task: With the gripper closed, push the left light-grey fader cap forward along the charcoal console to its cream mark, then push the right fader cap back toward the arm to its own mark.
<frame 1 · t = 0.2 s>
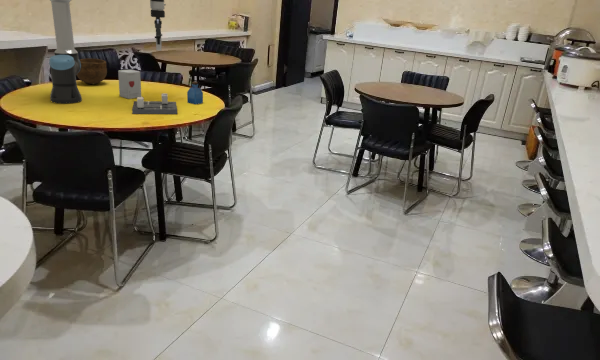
hand: (159, 49, 262), 28 cm above the table, fingers open, 13 cm apart
bowl: (92, 84, 293), on the table
console: (155, 109, 243), on the table
fader right: (164, 98, 247), point 5 cm above the table, slide at 0.0 cm
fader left: (140, 102, 235), point 5 cm above the table, slide at 0.0 cm
perfume bottle: (195, 103, 265), on the table
supplement box: (130, 97, 268), on the table
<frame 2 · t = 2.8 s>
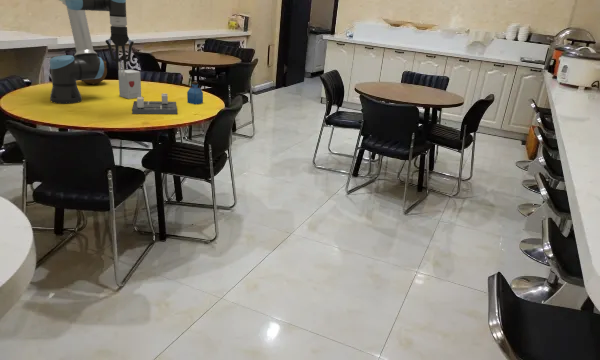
hand: (122, 75, 228), 18 cm above the table, fingers closed
nothing on the table moved.
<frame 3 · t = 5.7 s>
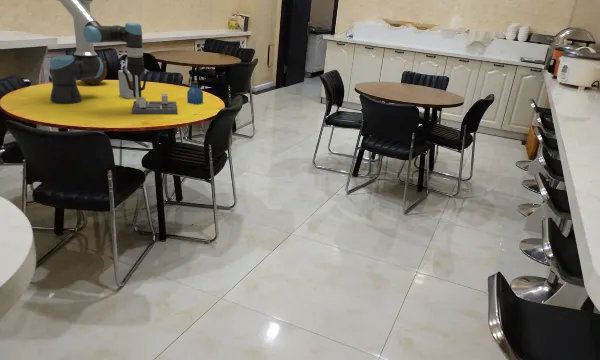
hand: (137, 103, 234), 4 cm above the table, fingers closed
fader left: (142, 102, 235), point 5 cm above the table, slide at 1.0 cm, touching gripper
everything else where it was.
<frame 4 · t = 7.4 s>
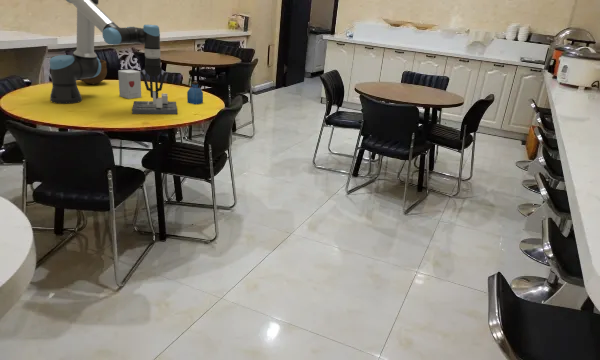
hand: (154, 104, 237), 4 cm above the table, fingers closed
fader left: (159, 102, 237), point 5 cm above the table, slide at 9.2 cm, touching gripper
everything else where it was.
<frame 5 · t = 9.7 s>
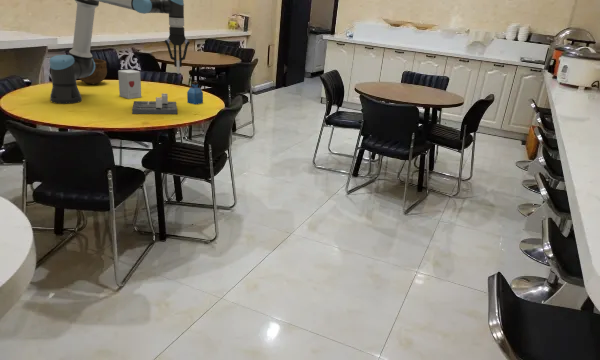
hand: (178, 73, 243), 19 cm above the table, fingers closed
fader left: (158, 102, 237), point 5 cm above the table, slide at 9.1 cm
everything else where it was.
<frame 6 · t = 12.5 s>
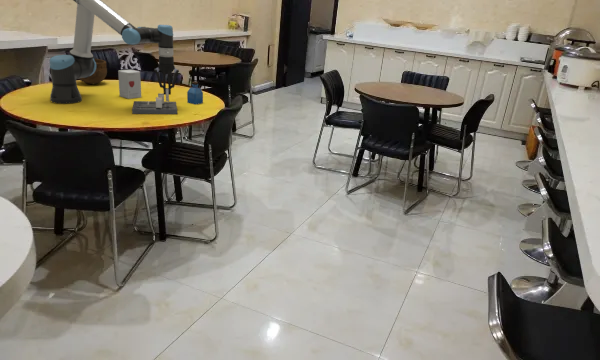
hand: (167, 100, 248), 4 cm above the table, fingers closed
fader right: (161, 98, 247), point 5 cm above the table, slide at 1.8 cm, touching gripper
everything else where it was.
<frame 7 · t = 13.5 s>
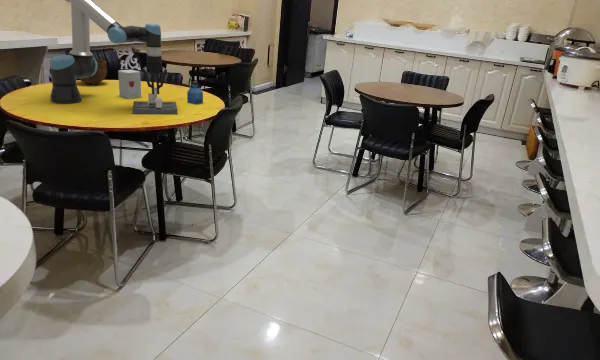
hand: (155, 100, 246), 4 cm above the table, fingers closed
fader right: (151, 98, 245), point 5 cm above the table, slide at 6.8 cm, touching gripper
everything else where it was.
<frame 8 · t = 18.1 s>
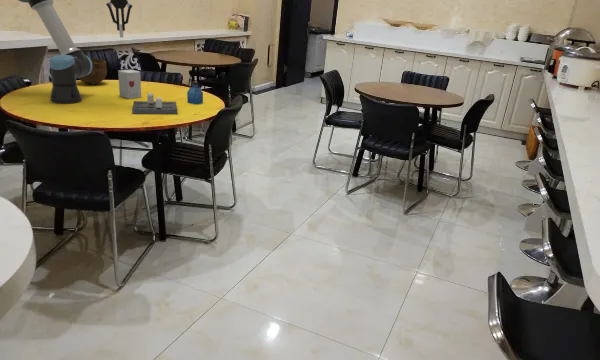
hand: (121, 37, 245), 34 cm above the table, fingers closed
fader right: (150, 98, 245), point 5 cm above the table, slide at 7.2 cm
everything else where it was.
at the end: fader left slide at 9.1 cm; fader right slide at 7.2 cm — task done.
